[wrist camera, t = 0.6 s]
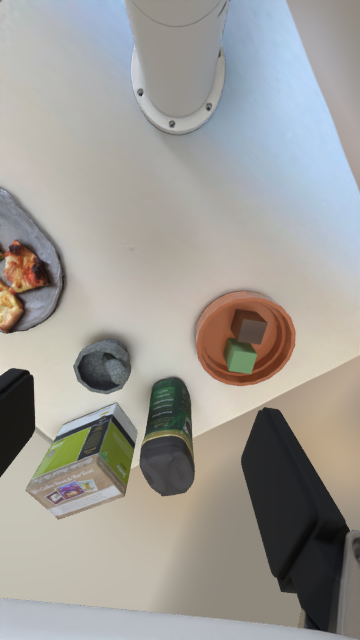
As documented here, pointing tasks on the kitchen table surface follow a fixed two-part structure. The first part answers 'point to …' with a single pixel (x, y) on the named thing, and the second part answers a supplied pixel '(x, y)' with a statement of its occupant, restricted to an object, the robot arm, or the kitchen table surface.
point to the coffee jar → (168, 439)
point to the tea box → (86, 463)
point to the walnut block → (248, 327)
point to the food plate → (25, 270)
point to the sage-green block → (239, 356)
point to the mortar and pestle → (103, 366)
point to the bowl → (270, 353)
